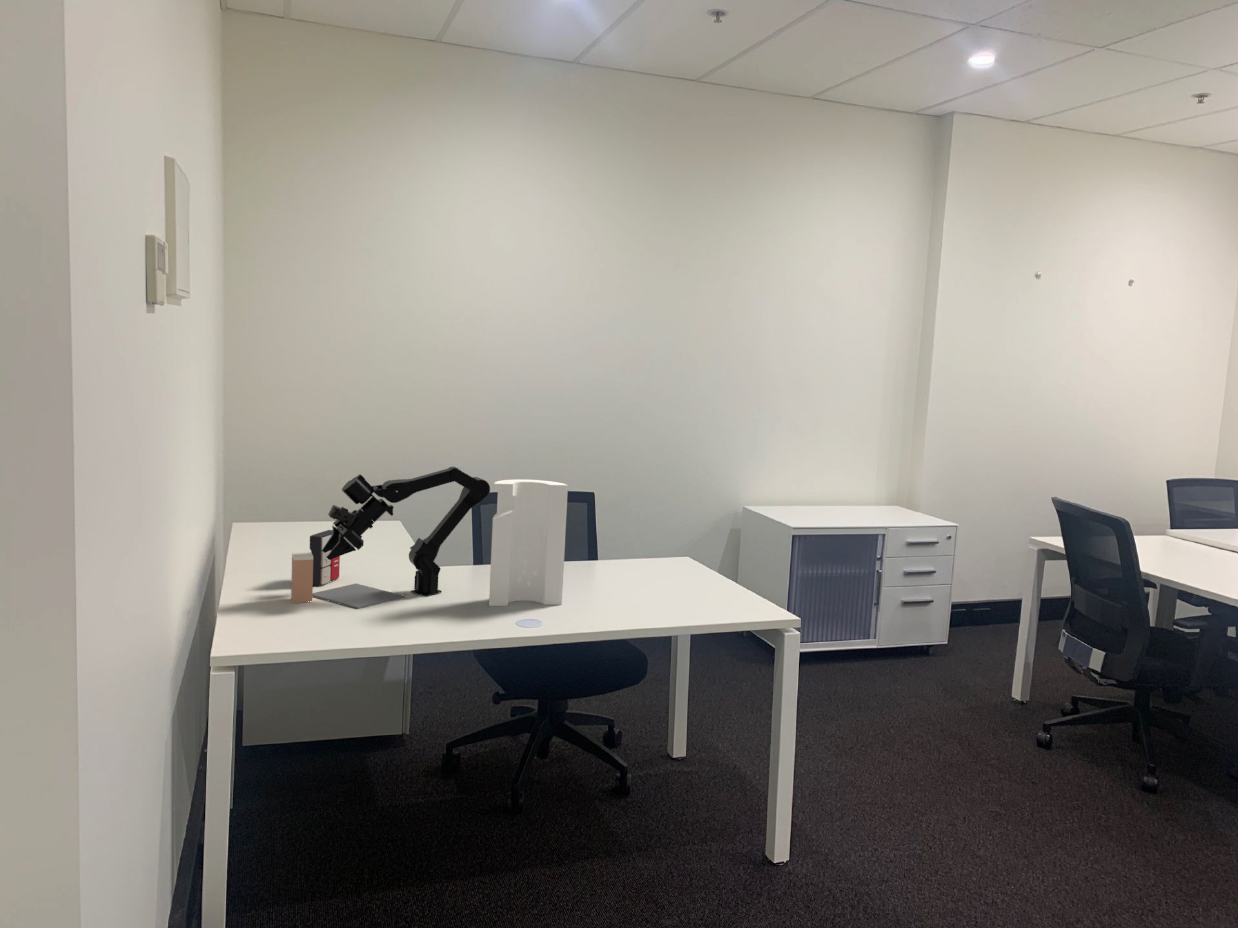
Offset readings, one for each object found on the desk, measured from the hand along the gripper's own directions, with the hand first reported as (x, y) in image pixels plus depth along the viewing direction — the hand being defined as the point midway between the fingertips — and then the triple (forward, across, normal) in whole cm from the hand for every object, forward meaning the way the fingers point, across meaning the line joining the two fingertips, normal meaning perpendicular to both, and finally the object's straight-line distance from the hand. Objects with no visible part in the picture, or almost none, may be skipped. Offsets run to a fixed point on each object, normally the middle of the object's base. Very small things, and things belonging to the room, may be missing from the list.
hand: (325, 555), depth 246 cm
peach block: (+13, 0, +5) cm, 14 cm away
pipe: (-29, +15, +47) cm, 57 cm away
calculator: (+7, -19, +11) cm, 23 cm away
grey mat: (+2, -1, +15) cm, 15 cm away
